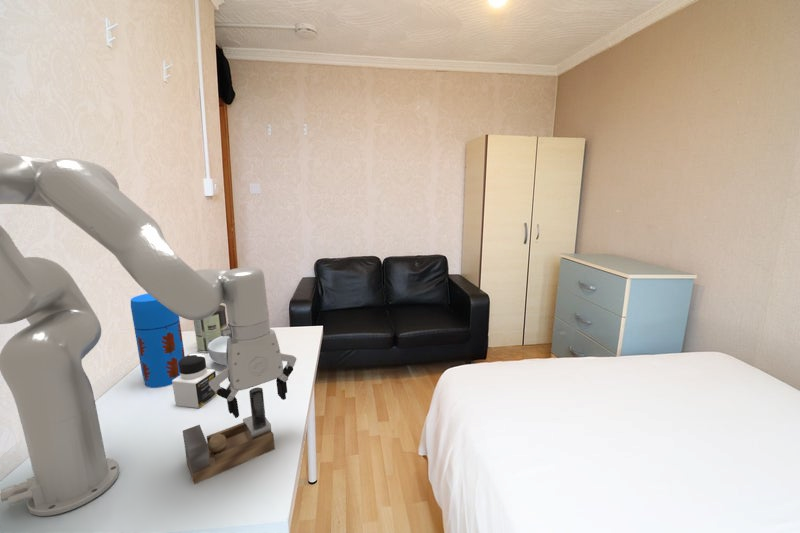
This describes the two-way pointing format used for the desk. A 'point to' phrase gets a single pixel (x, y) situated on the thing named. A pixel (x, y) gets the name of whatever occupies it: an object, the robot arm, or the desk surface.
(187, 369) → the medicine bottle
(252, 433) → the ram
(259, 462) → the desk surface
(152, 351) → the thermos
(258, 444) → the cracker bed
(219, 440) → the nut
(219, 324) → the coffee can
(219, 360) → the cereal bowl
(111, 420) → the desk surface
